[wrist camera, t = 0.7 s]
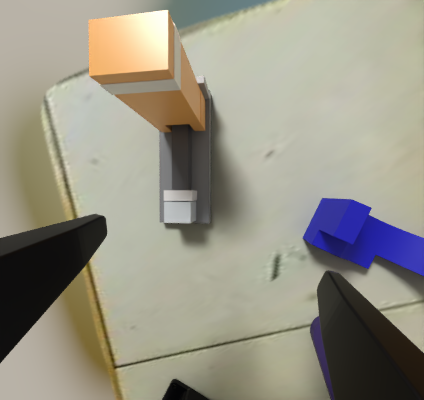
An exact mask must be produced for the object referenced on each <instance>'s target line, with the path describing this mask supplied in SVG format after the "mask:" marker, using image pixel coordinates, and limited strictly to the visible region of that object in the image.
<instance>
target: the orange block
mask: <svg viewBox="0 0 424 400" xmlns="http://www.w3.org/2000/svg"><path fill="white" fill-rule="evenodd" d="M89 76H90V77H91V78H93V79H94V80H95V81H97V82H98V83H99V84H100V86H101V87H102V88H104V89H105V90H106V91H108V92H109V93H110V94H112V95H115V96H116V97H117V98H119V99H120V100H121V101H122V102H124V103H125V104H126V105H128V106H129V107H130V108H131V109H133V110H134V111H135V112H137V113H138V114H139V115H141V116H142V117H143V118H144V119H146V120H147V121H148V122H150V123H151V124H152V125H153V126H154V127H156V128H157V129H158V130H159V131H161V132H162V133H163V132H172V125H182V124H190V126H191V127H192V128H193V130H194V131H205V99H204V96H203V94H202V91H201V90H200V88H199V85H198V83H197V80H196V78H195V75H194V73H193V71H192V68H191V66H190V63H189V61H188V58H187V56H186V53H185V51H184V48H183V46H182V43H181V38H180V35H179V33H178V30H177V28H176V26H175V23H173V21H172V19H171V16H170V14H169V11H168V10H163V11H157V12H156V11H155V12H148V13H140V14H132V15H125V16H116V17H108V18H101V19H93V20H89Z"/></svg>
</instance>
